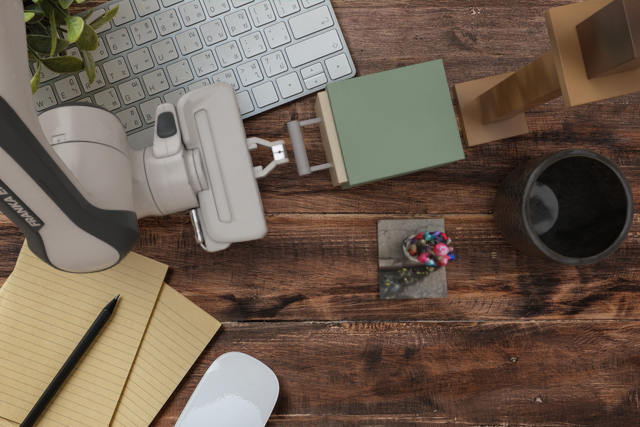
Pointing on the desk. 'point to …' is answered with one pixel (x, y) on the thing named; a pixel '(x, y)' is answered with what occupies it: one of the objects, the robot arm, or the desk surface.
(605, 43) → the pencil box
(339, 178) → the drawer
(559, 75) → the stand
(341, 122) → the cabinet
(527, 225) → the planter
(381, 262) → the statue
